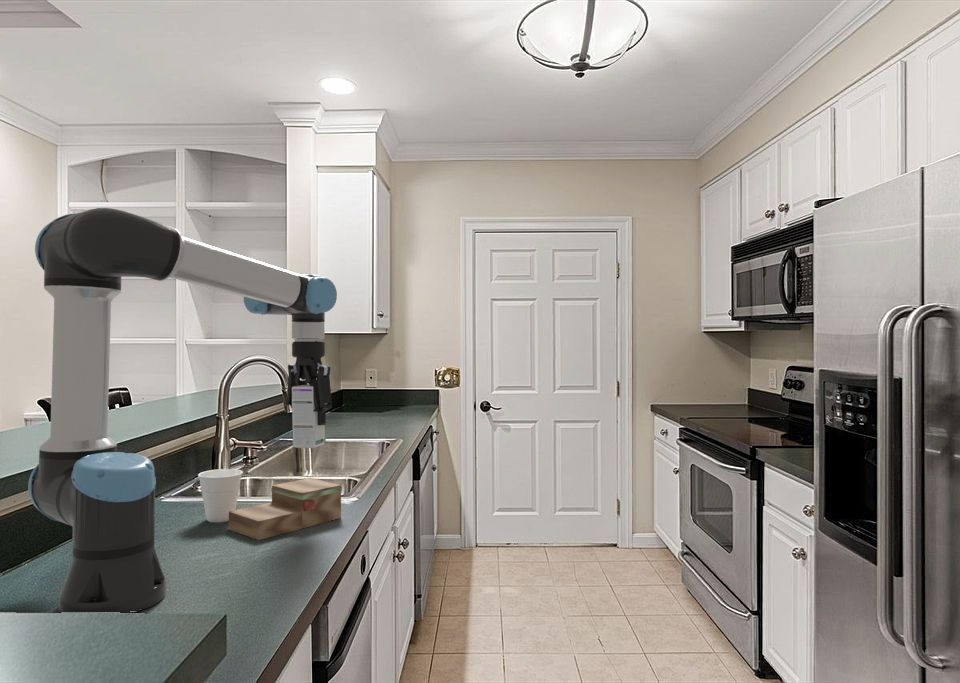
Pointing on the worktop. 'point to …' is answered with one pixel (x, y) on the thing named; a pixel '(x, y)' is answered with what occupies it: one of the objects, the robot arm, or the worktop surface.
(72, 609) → the robot arm
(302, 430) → the syrup box
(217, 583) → the worktop surface
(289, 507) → the step stand
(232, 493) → the cup
